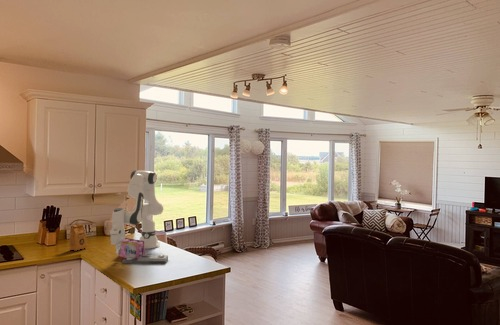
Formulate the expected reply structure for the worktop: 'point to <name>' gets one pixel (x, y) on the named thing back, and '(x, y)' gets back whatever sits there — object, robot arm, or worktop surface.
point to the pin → (118, 251)
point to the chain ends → (147, 259)
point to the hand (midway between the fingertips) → (118, 247)
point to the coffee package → (77, 237)
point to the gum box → (132, 248)
